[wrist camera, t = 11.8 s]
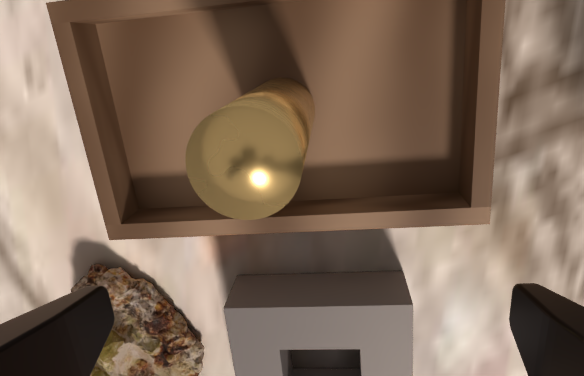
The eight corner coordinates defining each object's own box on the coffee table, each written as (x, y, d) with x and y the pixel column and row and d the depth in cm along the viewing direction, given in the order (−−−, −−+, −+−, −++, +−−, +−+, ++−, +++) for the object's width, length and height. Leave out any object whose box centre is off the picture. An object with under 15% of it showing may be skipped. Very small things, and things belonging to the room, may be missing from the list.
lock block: (403, 270, 22) (412, 304, 19) (403, 401, 25) (412, 447, 22) (237, 275, 23) (223, 308, 20) (257, 399, 26) (247, 444, 23)
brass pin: (312, 74, 18) (297, 101, 10) (317, 141, 19) (306, 217, 11) (246, 80, 18) (176, 110, 10) (254, 144, 19) (195, 222, 11)
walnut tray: (484, -41, 17) (509, -55, 14) (471, 202, 20) (489, 224, 18) (81, 7, 19) (45, 3, 16) (133, 219, 22) (109, 240, 20)
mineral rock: (224, 422, 24) (87, 469, 23) (225, 372, 28) (109, 410, 27) (162, 260, 21) (3, 308, 20) (173, 231, 25) (41, 270, 24)
